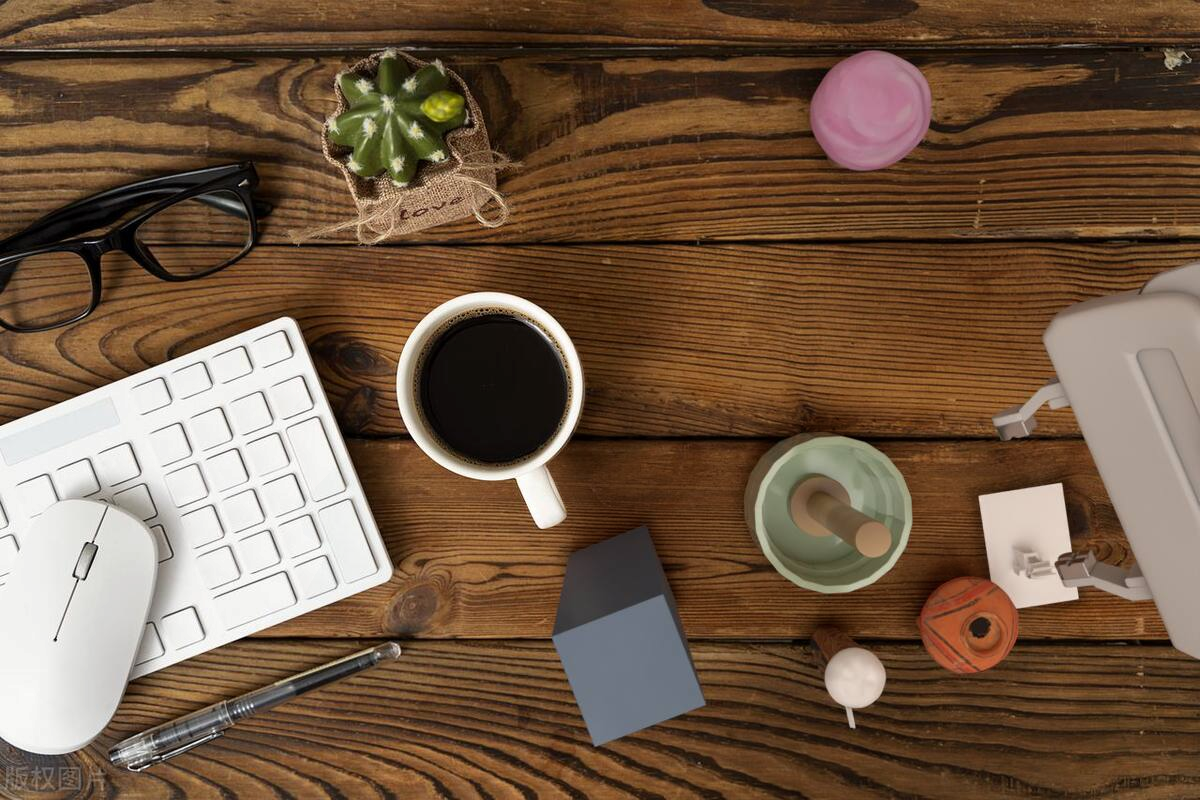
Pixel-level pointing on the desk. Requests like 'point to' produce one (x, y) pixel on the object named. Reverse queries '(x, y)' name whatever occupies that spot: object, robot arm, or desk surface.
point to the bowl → (830, 557)
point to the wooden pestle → (835, 515)
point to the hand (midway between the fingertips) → (1029, 498)
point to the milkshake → (847, 669)
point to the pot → (968, 625)
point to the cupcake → (870, 111)
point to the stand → (623, 638)
